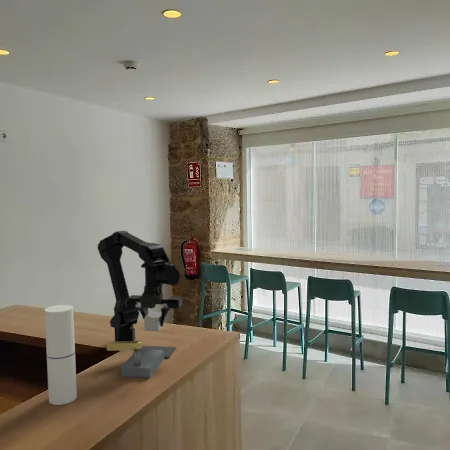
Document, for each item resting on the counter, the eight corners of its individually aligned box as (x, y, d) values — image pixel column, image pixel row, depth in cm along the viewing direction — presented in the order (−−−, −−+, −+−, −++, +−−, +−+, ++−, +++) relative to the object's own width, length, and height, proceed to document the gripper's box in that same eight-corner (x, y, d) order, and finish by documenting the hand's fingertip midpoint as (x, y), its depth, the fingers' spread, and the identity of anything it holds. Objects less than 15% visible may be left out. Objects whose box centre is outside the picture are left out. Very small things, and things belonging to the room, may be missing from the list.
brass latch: (140, 350, 133) (140, 343, 133) (106, 350, 133) (106, 343, 133) (142, 347, 135) (142, 340, 135) (108, 347, 136) (108, 340, 135)
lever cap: (144, 330, 149) (144, 317, 148) (150, 324, 156) (150, 311, 155) (158, 331, 148) (158, 318, 148) (164, 324, 155) (164, 312, 155)
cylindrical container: (50, 407, 115) (46, 313, 113) (47, 396, 121) (43, 307, 119) (78, 400, 118) (75, 309, 116) (74, 390, 125) (71, 303, 123)
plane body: (121, 376, 134) (120, 352, 133) (138, 357, 148) (137, 335, 148) (149, 377, 132) (149, 353, 132) (164, 358, 147) (163, 336, 146)
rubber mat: (134, 356, 149) (134, 355, 149) (143, 347, 158) (143, 345, 158) (168, 358, 147) (168, 356, 147) (175, 348, 156) (175, 347, 156)
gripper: (118, 286, 144) (120, 332, 145) (174, 287, 141) (174, 334, 143) (130, 279, 155) (131, 322, 156) (182, 280, 152) (183, 324, 154)
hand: (154, 326), depth 152 cm, fingers closed on lever cap, 5 cm apart
